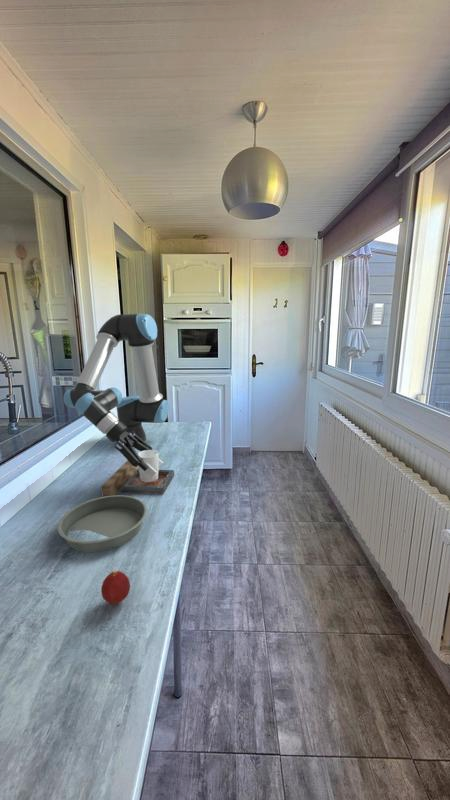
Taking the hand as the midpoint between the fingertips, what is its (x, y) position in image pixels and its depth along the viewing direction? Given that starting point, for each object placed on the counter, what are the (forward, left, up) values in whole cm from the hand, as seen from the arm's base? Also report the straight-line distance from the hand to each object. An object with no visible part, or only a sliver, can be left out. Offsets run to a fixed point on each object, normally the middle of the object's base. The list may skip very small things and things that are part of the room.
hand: (157, 469), depth 125 cm
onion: (+55, +8, -6) cm, 56 cm away
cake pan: (+29, -7, -6) cm, 30 cm away
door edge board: (0, -14, -6) cm, 15 cm away
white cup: (0, -3, -4) cm, 5 cm away
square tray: (0, -3, -6) cm, 7 cm away
